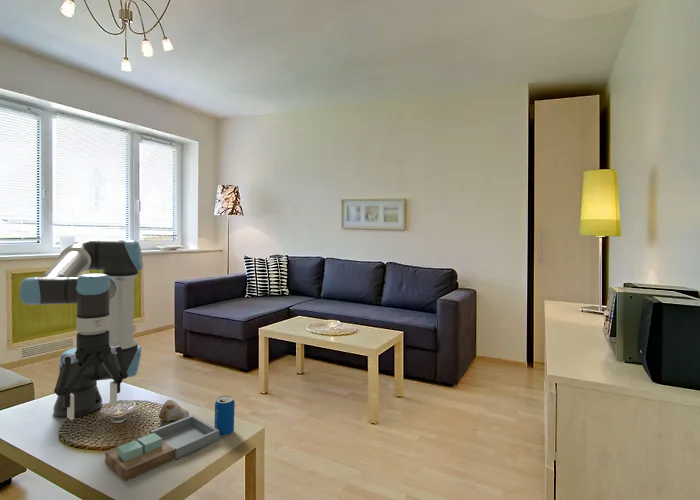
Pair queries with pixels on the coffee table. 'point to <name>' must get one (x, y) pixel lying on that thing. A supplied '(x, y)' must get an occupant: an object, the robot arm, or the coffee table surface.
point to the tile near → (129, 450)
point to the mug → (172, 411)
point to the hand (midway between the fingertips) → (92, 411)
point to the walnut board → (139, 461)
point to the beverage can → (224, 415)
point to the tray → (187, 435)
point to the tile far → (150, 442)
